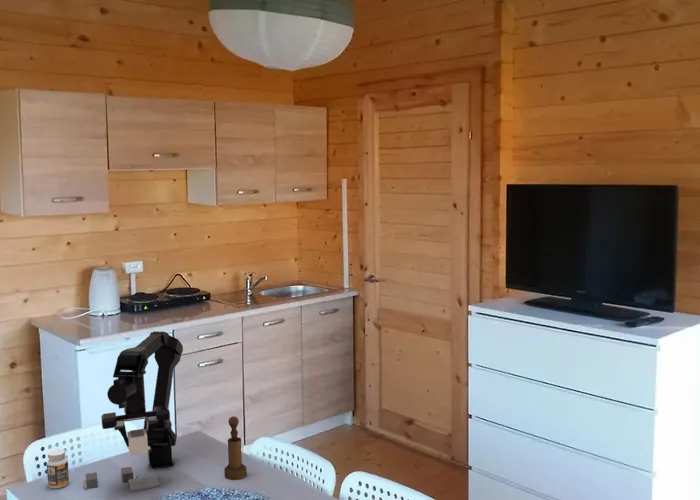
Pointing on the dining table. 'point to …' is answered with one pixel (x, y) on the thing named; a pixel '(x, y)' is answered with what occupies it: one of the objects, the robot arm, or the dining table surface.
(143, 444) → the beige open box
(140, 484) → the mat
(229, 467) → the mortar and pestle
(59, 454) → the pill bottle
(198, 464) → the dining table surface
